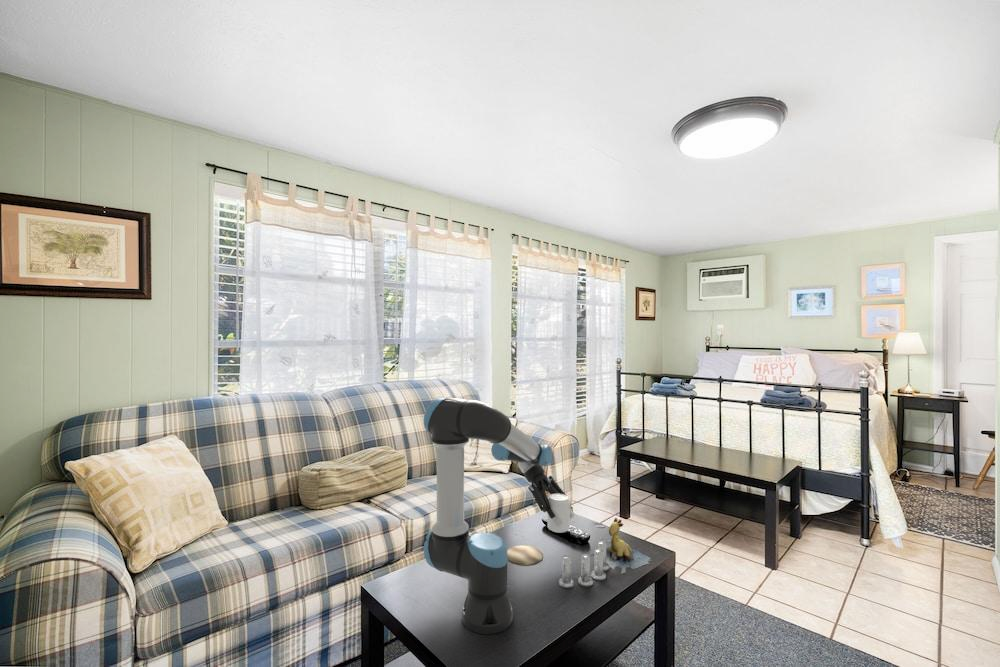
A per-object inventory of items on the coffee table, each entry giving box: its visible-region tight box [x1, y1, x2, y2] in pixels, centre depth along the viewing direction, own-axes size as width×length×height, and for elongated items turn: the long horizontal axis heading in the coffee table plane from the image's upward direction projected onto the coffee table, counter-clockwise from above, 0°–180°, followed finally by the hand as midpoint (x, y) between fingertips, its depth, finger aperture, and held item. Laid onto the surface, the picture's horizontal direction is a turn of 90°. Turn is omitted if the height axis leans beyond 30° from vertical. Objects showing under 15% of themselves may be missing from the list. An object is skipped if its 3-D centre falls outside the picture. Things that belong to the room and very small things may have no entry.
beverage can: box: [547, 493, 571, 534], centre depth 166 cm, size 8×8×12 cm
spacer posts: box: [558, 540, 610, 589], centre depth 157 cm, size 23×12×9 cm, turn 142°
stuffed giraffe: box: [590, 517, 652, 575], centre depth 170 cm, size 16×18×16 cm
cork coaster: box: [507, 545, 543, 566], centre depth 171 cm, size 14×14×1 cm
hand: (566, 521), depth 164 cm, fingers closed on beverage can, 8 cm apart
